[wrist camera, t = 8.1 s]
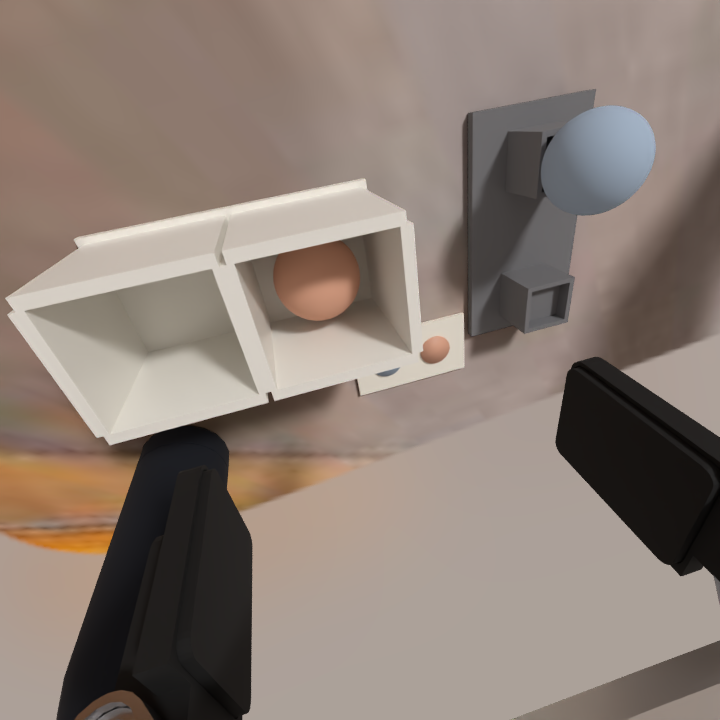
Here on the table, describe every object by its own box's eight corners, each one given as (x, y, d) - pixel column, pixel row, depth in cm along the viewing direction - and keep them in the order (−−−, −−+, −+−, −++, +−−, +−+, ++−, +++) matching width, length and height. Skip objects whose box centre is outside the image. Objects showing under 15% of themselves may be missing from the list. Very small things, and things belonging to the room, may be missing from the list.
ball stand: (588, 90, 24) (642, 83, 20) (558, 309, 32) (592, 330, 28) (467, 113, 23) (504, 110, 19) (468, 333, 31) (493, 357, 28)
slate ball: (609, 100, 21) (698, 93, 17) (593, 197, 24) (666, 212, 19) (525, 116, 20) (596, 113, 16) (518, 214, 23) (577, 233, 19)
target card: (462, 312, 30) (464, 314, 29) (462, 365, 32) (465, 368, 32) (349, 341, 29) (351, 344, 28) (359, 393, 31) (361, 396, 31)
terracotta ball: (343, 216, 23) (361, 235, 19) (356, 292, 26) (374, 323, 22) (261, 233, 23) (262, 257, 19) (283, 309, 26) (288, 344, 21)
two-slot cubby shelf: (363, 178, 23) (412, 200, 16) (380, 304, 28) (425, 366, 20) (77, 236, 21) (-12, 291, 14) (146, 362, 26) (105, 452, 19)
